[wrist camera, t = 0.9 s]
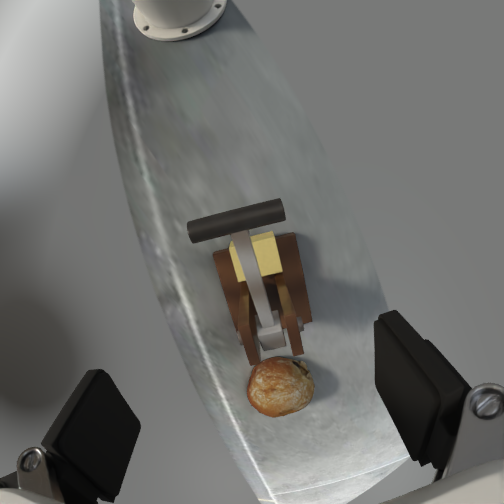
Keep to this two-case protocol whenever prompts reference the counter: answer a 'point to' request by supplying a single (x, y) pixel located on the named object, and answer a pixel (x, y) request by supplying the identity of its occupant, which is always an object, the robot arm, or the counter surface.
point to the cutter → (278, 292)
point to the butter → (260, 255)
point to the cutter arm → (247, 258)
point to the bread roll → (280, 386)
